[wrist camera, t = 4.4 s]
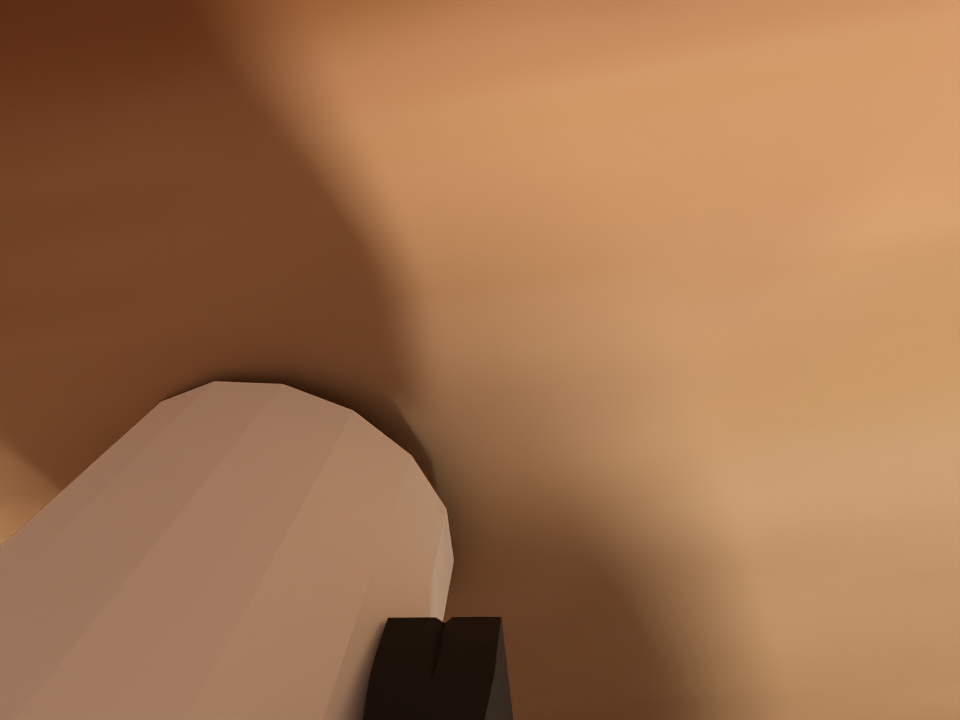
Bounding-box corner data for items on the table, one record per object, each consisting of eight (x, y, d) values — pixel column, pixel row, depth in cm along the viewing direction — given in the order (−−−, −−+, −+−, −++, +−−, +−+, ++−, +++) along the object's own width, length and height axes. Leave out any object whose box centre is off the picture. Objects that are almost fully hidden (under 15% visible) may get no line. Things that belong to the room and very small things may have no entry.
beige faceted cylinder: (54, 542, 16) (-311, 971, 10) (151, 258, 12) (-346, 688, 6) (384, 713, 17) (222, 1201, 11) (576, 498, 13) (481, 1076, 7)
